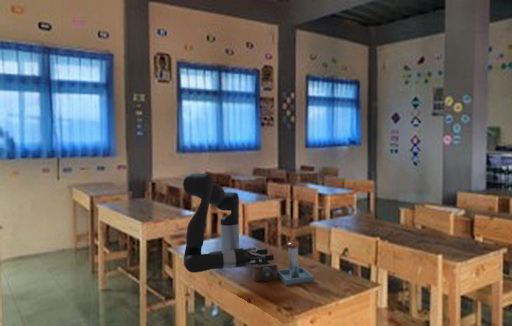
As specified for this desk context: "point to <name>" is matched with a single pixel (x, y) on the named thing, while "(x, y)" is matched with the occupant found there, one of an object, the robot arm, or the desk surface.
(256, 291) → the desk surface
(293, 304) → the desk surface
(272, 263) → the block
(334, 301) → the desk surface
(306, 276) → the tray
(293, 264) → the pin
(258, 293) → the desk surface
